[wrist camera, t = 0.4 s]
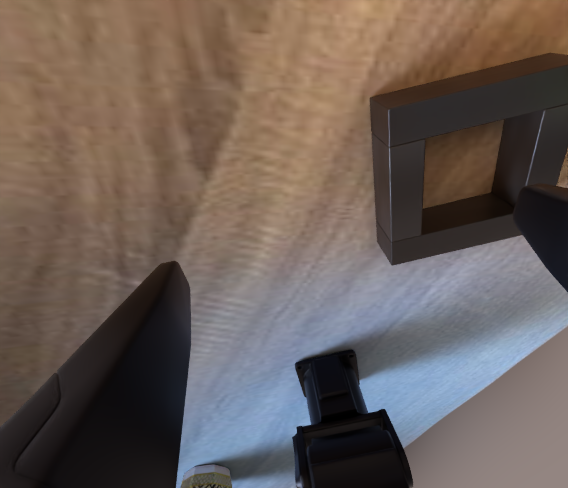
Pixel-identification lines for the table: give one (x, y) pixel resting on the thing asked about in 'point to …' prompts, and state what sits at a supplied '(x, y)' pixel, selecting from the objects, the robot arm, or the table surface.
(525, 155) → the holder
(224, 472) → the ceramic cup
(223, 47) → the table surface
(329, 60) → the table surface
